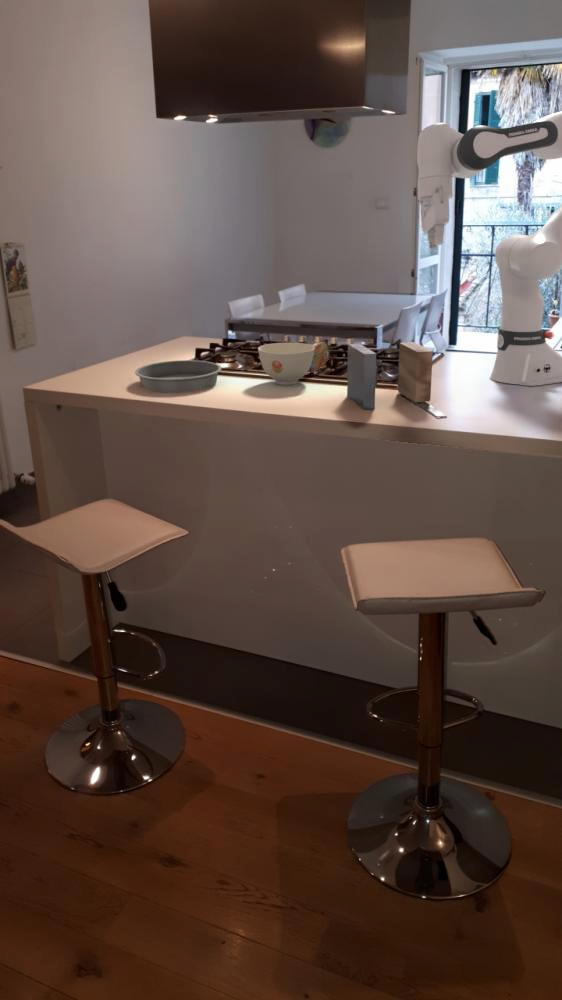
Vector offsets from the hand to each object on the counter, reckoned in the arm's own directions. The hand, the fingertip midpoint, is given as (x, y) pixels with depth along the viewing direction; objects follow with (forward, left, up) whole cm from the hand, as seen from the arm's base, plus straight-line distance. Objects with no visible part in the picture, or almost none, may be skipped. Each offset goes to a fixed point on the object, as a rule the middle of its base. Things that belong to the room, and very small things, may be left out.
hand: (435, 247), depth 212 cm
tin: (+25, -27, -37) cm, 52 cm away
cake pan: (+67, -23, -38) cm, 80 cm away
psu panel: (+17, +18, -37) cm, 44 cm away
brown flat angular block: (+9, +12, -37) cm, 40 cm away
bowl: (+37, -15, -37) cm, 55 cm away
